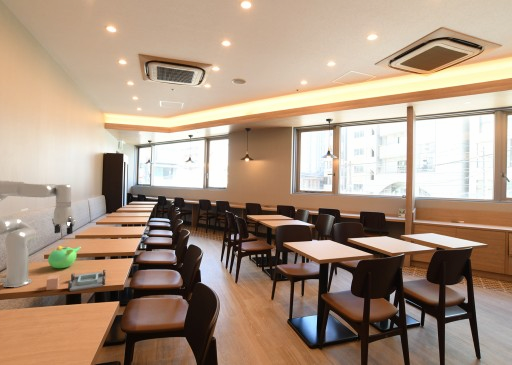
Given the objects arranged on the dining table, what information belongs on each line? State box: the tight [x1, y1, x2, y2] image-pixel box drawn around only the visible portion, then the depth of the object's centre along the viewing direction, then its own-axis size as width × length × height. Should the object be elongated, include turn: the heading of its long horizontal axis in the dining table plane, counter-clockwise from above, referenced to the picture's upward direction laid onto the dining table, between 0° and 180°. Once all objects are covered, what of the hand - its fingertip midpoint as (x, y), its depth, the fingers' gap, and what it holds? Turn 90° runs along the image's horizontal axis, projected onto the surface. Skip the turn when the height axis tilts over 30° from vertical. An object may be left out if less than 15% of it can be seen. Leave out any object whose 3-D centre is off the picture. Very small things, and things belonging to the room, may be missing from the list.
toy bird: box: [47, 245, 82, 269], centre depth 190 cm, size 18×17×15 cm
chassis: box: [67, 269, 106, 292], centre depth 163 cm, size 18×21×4 cm
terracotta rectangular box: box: [46, 274, 61, 291], centre depth 155 cm, size 5×7×6 cm
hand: (63, 233), depth 164 cm, fingers open, 9 cm apart
